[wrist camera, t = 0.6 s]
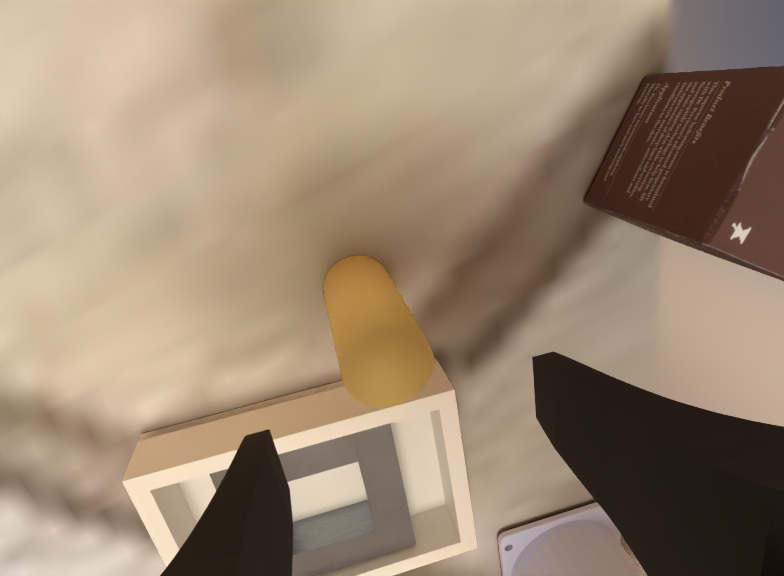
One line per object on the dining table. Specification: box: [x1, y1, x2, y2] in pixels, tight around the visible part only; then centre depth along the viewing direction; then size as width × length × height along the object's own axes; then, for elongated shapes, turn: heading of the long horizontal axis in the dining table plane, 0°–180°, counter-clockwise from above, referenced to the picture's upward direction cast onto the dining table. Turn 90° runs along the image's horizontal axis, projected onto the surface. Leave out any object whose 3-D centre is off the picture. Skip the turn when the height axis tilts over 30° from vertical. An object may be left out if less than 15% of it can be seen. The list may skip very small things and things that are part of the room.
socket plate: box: [209, 423, 416, 576], centre depth 24 cm, size 8×8×2 cm
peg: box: [323, 255, 434, 407], centre depth 19 cm, size 3×3×7 cm
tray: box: [122, 356, 477, 576], centre depth 24 cm, size 10×14×3 cm
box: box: [585, 66, 784, 281], centre depth 20 cm, size 6×6×7 cm
